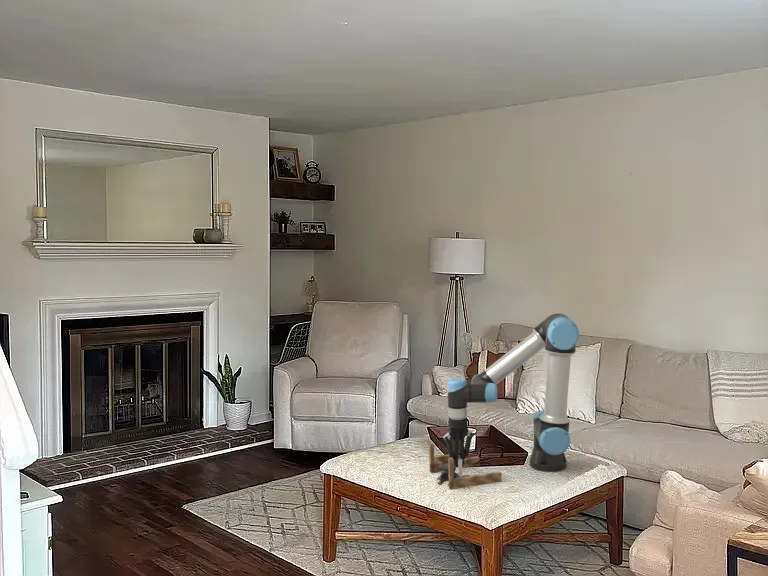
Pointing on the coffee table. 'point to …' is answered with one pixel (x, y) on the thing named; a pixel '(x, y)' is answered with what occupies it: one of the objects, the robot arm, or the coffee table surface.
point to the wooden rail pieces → (468, 462)
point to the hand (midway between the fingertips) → (459, 474)
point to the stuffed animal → (447, 476)
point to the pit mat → (446, 466)
